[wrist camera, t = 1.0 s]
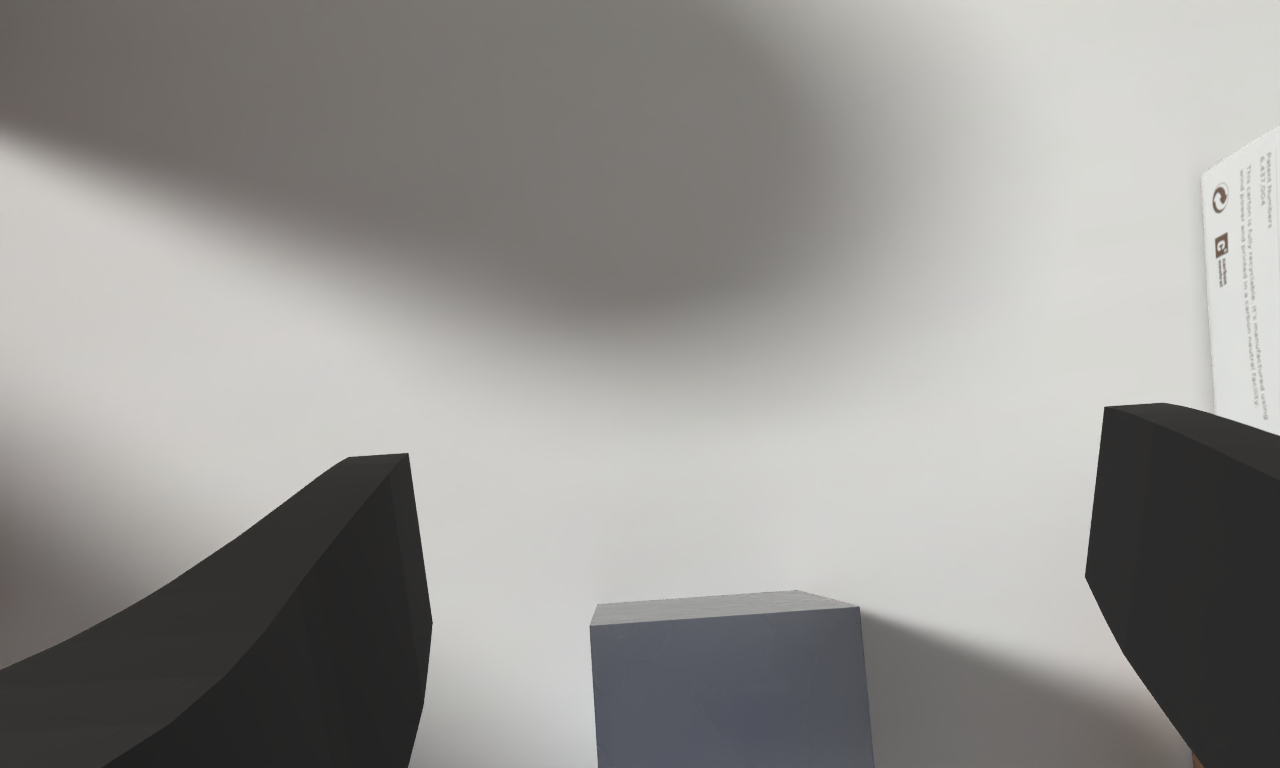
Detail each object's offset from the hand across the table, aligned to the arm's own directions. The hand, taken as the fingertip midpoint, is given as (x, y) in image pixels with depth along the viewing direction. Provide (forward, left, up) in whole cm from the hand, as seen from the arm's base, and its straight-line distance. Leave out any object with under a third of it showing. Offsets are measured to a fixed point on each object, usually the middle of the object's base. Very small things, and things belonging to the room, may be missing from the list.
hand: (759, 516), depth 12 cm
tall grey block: (-3, 0, -11) cm, 12 cm away
